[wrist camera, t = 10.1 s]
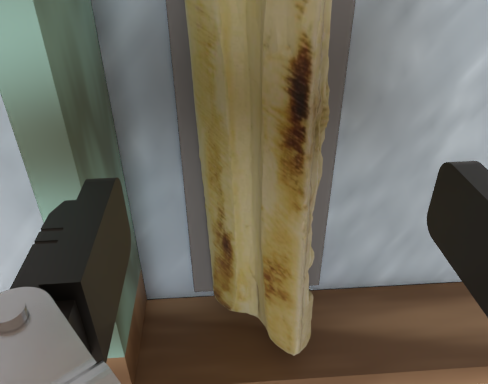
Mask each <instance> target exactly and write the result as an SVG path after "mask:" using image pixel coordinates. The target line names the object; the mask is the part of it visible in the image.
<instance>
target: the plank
mask: <svg viewBox="0 0 488 384" xmlns="http://www.w3.org/2000/svg"><path fill="white" fill-rule="evenodd" d="M184 1H185V10H186V19H187V28H188V38H189V47H190V56H191V69H192V80H193V91H194V103H195V114H196V123H197V132H198V142H199V158H200V161H201V171H202V180H203V186H204V197H205V208H206V216H207V228H208V236H209V248H210V254H211V267H212V277H213V291H214V295H215V298H216V300H217V301H218V302H219V303H220V304H222V305H223V306H224V307H226V308H227V309H229V310H230V311H235V312H241V313H248V314H250V315H253V316H256V317H257V318H259V319H260V321H261V322H262V323H263V325H264V326H265V327H266V329H267V331H268V335H269V337H270V339H271V340H272V341H273V342H274V343H275V344H276V345H277V346H278V347H280V348H281V349H283V350H284V351H285V352H287V353H289V354H292V355H293V356H294V355H296V354H298V353H300V352H301V351H302V350H303V349H304V348H305V347H306V345H307V343H308V341H309V339H310V336H311V319H312V306H313V294H312V293H311V292H310V291H309V274H308V270H309V268H310V267H311V266H312V264H313V261H314V251H313V249H312V247H311V241H312V234H313V233H312V226H311V224H312V221H313V216H312V214H313V211H314V206H315V200H316V194H317V189H318V186H319V183H320V180H321V177H322V165H323V157H322V154H321V147H322V143H323V141H324V139H325V128H326V127H327V123H328V121H329V113H330V111H329V105H328V100H329V91H330V89H329V86H328V70H329V57H328V50H329V39H330V22H331V8H332V0H184Z"/></svg>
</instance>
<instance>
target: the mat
mask: <svg viewBox="0 0 488 384" xmlns="http://www.w3.org/2000/svg"><path fill="white" fill-rule="evenodd" d="M166 6H167V17H168V27H169V37H170V47H171V57H172V68H173V78H174V88H175V98H176V108H177V118H178V129H179V139H180V149H181V159H182V169H183V180H184V190H185V200H186V210H187V220H188V231H189V241H190V251H191V261H192V271H193V281H194V292H201V291H213V277H212V267H211V254H210V248H209V236H208V228H207V216H206V208H205V197H204V186H203V180H202V171H201V161H200V158H199V142H198V132H197V123H196V114H195V103H194V91H193V80H192V69H191V56H190V47H189V38H188V28H187V19H186V10H185V1H184V0H166ZM354 7H355V0H332V8H331V22H330V39H329V50H328V57H329V70H328V86H329V89H330V91H329V100H328V105H329V111H330V113H329V121H328V123H327V127H326V128H325V139H324V141H323V143H322V147H321V154H322V157H323V165H322V177H321V180H320V183H319V186H318V189H317V194H316V200H315V206H314V211H313V214H312V216H313V221H312V224H311V226H312V233H313V234H312V241H311V247H312V249H313V251H314V261H313V264H312V266H311V267H310V268H309V270H308V274H309V285H319V279H320V271H321V263H322V256H323V248H324V240H325V232H326V225H327V217H328V209H329V201H330V194H331V186H332V178H333V170H334V162H335V155H336V147H337V139H338V131H339V124H340V116H341V108H342V100H343V93H344V85H345V77H346V69H347V61H348V54H349V46H350V38H351V30H352V23H353V15H354Z"/></svg>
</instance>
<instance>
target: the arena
mask: <svg viewBox="0 0 488 384" xmlns="http://www.w3.org/2000/svg"><path fill="white" fill-rule="evenodd" d="M0 93H1V96H2V99H3V102H4V105H5V108H6V111H7V114H8V117H9V120H10V123H11V126H12V129H13V132H14V135H15V138H16V141H17V144H18V147H19V150H20V153H21V156H22V159H23V162H24V165H25V168H26V171H27V174H28V177H29V180H30V183H31V186H32V189H33V192H34V195H35V198H36V201H37V204H38V207H39V210H40V213H41V216H42V219H43V222H45V220H46V218H47V217H48V215H49V213H50V212H52V211H53V210H54V209H55V208H56V207H58V206H59V205H60V204H61V203H62V202H63V201H65V200H76V199H77V197H78V195H79V193H80V190H81V188H82V186H83V184H84V182H85V180H86V179H97V178H119V179H120V182H121V185H122V189H123V195H124V200H125V205H126V210H127V215H128V220H129V225H130V231H131V252H130V257H129V262H128V266H127V271H126V275H125V280H124V285H123V289H122V294H121V298H120V303H119V307H118V312H117V316H116V321H115V325H114V330H113V334H112V339H111V344H110V348H109V353H108V357H107V362H106V364H107V365H108V366H109V367H110V369H111V370H112V372H113V373H114V374H115V376H116V377H117V379H118V380H119V381H120V383H121V384H488V318H487V316H486V315H485V313H484V312H483V311H482V309H481V308H480V306H479V305H478V303H477V302H476V301H475V299H474V298H473V296H472V295H471V293H470V292H469V290H468V289H467V288H466V286H465V285H464V283H463V282H455V283H437V284H419V285H402V286H384V287H366V288H349V289H331V290H313V291H310V292H311V293H312V294H313V306H312V319H311V336H310V339H309V341H308V343H307V345H306V347H305V348H304V349H303V350H302V351H301V352H300V353H298V354H296V355H294V356H293V355H292V354H289V353H287V352H285V351H284V350H283V349H281V348H280V347H278V346H277V345H276V344H275V343H274V342H273V341H272V340H271V339H270V337H269V335H268V331H267V329H266V327H265V326H264V325H263V323H262V322H261V321H260V319H259V318H257V317H256V316H253V315H250V314H248V313H241V312H235V311H230V310H229V309H227V308H226V307H224V306H223V305H222V304H220V303H219V302H218V301H217V300H216V298H215V296H207V297H189V298H172V299H154V300H147V297H146V292H145V287H144V281H143V276H142V271H141V265H140V260H139V255H138V249H137V244H136V239H135V233H134V228H133V223H132V218H131V212H130V207H129V202H128V196H127V191H126V186H125V180H124V175H123V170H122V164H121V159H120V154H119V149H118V143H117V138H116V133H115V127H114V122H113V117H112V111H111V106H110V101H109V95H108V90H107V85H106V80H105V74H104V69H103V64H102V58H101V53H100V48H99V42H98V37H97V32H96V26H95V21H94V16H93V10H92V5H91V0H0Z"/></svg>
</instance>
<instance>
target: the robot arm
mask: <svg viewBox="0 0 488 384" xmlns="http://www.w3.org/2000/svg"><path fill="white" fill-rule="evenodd" d="M427 226H428V230H429V233H430V236H431V237H432V239H433V240H434V242H435V243H436V245H437V246H438V247H439V249H440V250H441V252H442V253H443V255H444V256H445V257H446V259H447V260H448V262H449V263H450V265H451V266H452V268H453V269H454V270H455V272H456V273H457V275H458V276H459V278H460V279H461V280H462V282H463V283H464V285H465V286H466V288H467V289H468V290H469V292H470V293H471V295H472V296H473V298H474V299H475V301H476V302H477V303H478V305H479V306H480V308H481V309H482V311H483V312H484V313H485V315H486V316H487V318H488V170H487V169H486V168H485V167H484V166H483V165H482V164H481V163H479V162H477V161H464V162H446V163H444V164H443V165H442V166H441V167H440V169H439V172H438V176H437V180H436V183H435V187H434V191H433V195H432V198H431V202H430V206H429V209H428V214H427ZM130 252H131V231H130V225H129V220H128V215H127V210H126V205H125V200H124V195H123V189H122V185H121V182H120V179H119V178H97V179H86V180H85V182H84V184H83V186H82V188H81V190H80V193H79V195H78V197H77V199H76V200H65V201H63V202H62V203H61V204H60V205H59V206H58V207H56V208H55V209H54V210H53V211H52V212H50V213H49V215H48V217H47V218H46V220H45V222H44V224H43V226H42V228H41V232H39V234H38V236H37V238H36V240H35V244H33V245H32V247H31V249H30V251H29V253H28V255H27V257H26V259H25V261H24V263H23V265H22V267H21V268H20V270H19V272H18V274H17V276H16V278H15V280H14V282H13V284H12V286H11V288H10V290H6V291H4V292H1V293H0V384H121V383H120V381H119V380H118V379H117V377H116V376H115V374H114V373H113V372H112V370H111V369H110V367H109V366H108V365H107V364H106V362H107V357H108V353H109V348H110V344H111V339H112V334H113V330H114V325H115V321H116V316H117V312H118V307H119V303H120V298H121V294H122V289H123V285H124V280H125V275H126V271H127V266H128V262H129V257H130Z"/></svg>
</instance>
